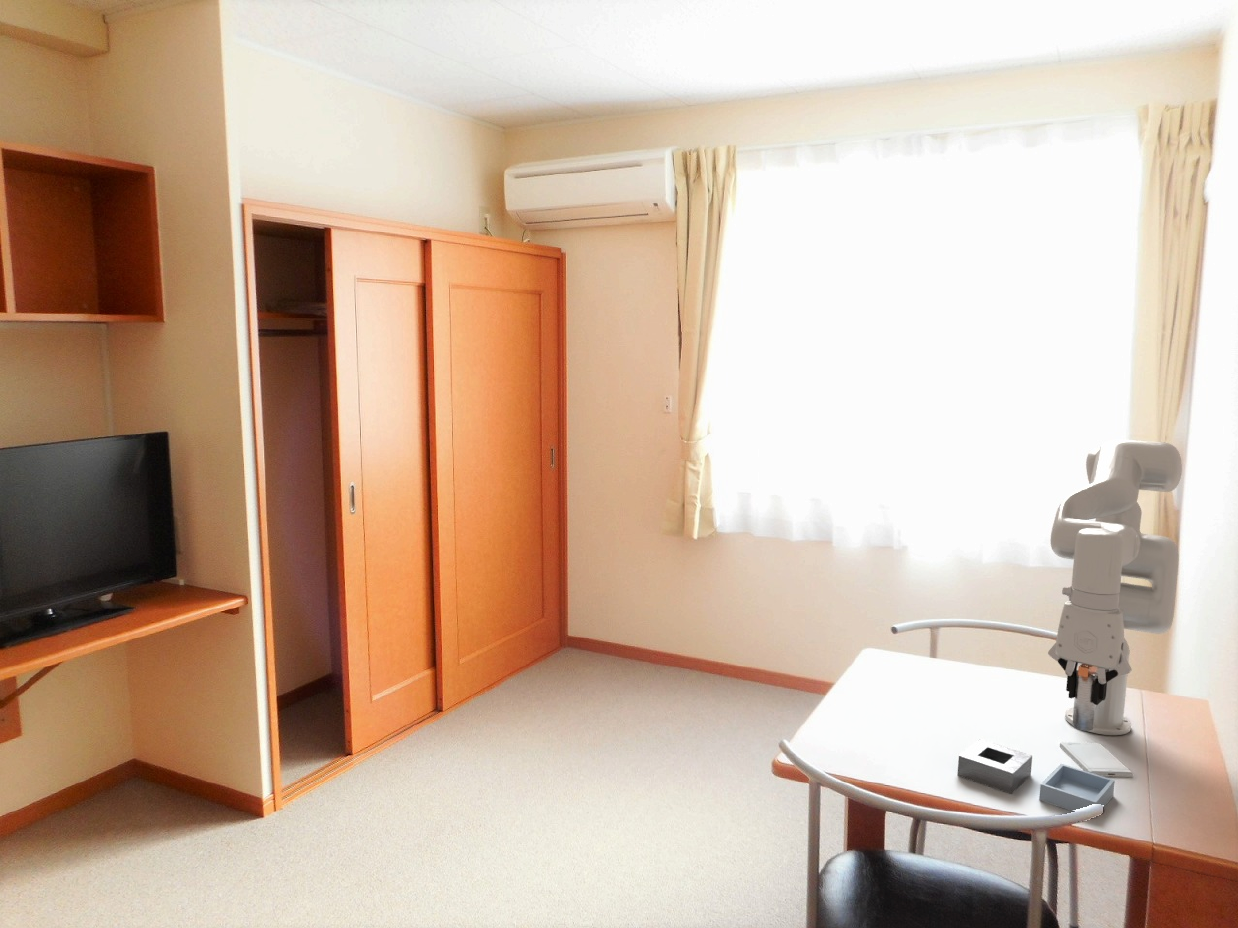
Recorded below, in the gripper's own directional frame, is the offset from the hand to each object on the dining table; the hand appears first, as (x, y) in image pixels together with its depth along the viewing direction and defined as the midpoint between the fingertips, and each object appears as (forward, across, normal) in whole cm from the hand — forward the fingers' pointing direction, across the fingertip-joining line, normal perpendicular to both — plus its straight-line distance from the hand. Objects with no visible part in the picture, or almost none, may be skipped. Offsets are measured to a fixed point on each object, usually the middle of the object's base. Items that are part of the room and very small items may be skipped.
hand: (1085, 698), depth 161 cm
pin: (+5, 0, 0) cm, 5 cm away
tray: (+19, 0, 0) cm, 19 cm away
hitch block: (+19, -14, -2) cm, 24 cm away
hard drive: (+20, -2, +19) cm, 27 cm away
